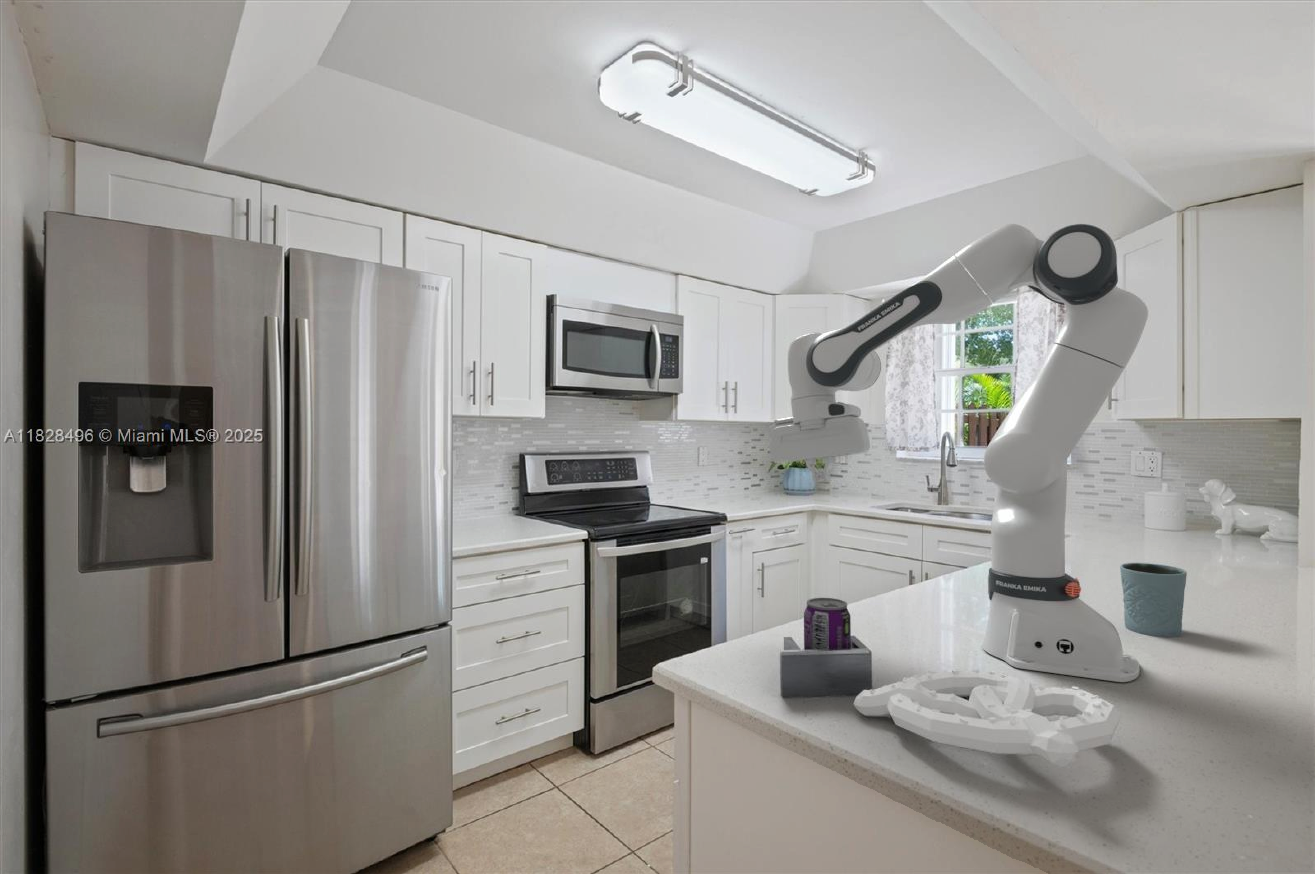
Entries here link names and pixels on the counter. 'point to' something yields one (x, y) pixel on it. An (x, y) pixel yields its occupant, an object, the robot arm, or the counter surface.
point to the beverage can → (827, 624)
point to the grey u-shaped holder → (825, 670)
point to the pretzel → (995, 714)
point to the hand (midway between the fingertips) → (821, 480)
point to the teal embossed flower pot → (1153, 598)
